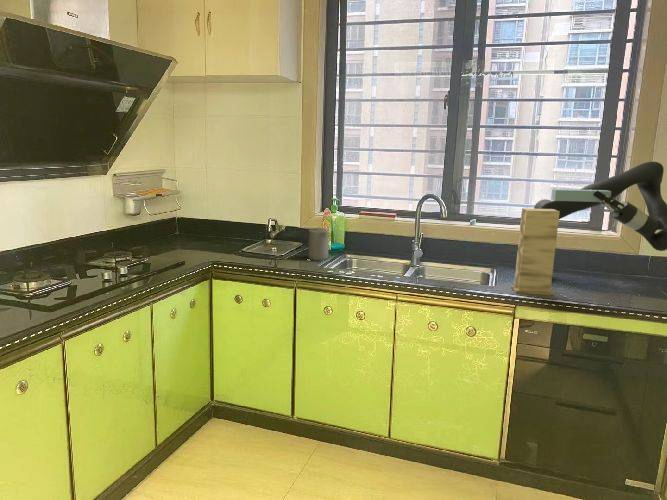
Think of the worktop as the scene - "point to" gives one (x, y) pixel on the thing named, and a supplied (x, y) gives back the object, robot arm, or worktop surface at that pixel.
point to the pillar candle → (318, 244)
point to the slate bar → (577, 195)
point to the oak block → (536, 251)
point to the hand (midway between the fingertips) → (592, 192)
